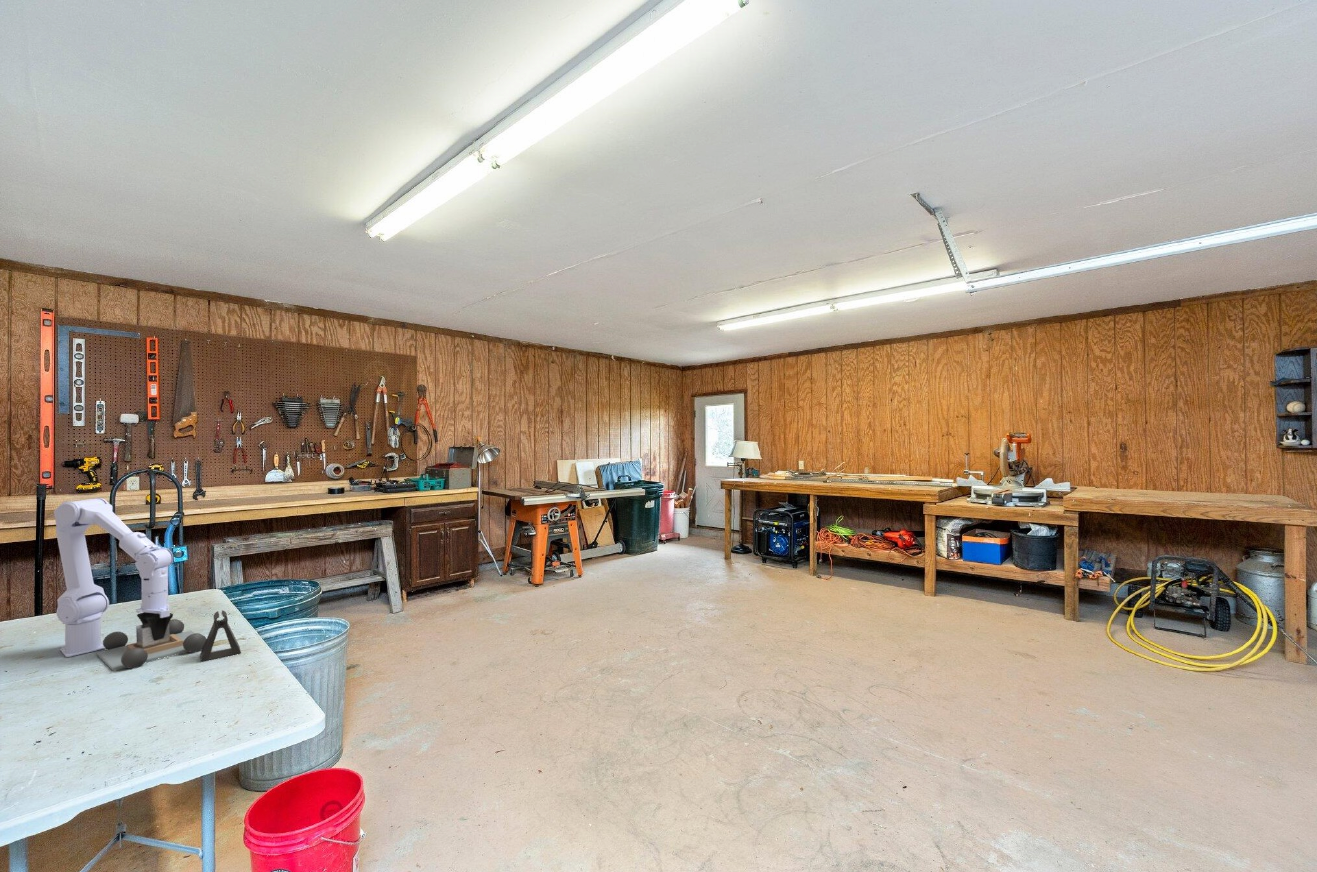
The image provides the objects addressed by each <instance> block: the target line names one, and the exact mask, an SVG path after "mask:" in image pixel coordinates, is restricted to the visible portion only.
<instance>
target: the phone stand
mask: <svg viewBox="0 0 1317 872" xmlns="http://www.w3.org/2000/svg"><path fill="white" fill-rule="evenodd" d="M221 614H222V617H223V619H220V620H219V618H220V612H219V610H218V611H216V612H215V613H214V614H213V623H212V626H211V628H210V631H209V633H208V635H207V637H206V642H205V644H204V646H203V649H202V650H200V651H201V652H200V653H199V655H200V657H199V659H200V662H201V663H204V662H208V661H209V660H210V661H213V660H218V658H219V659H221V658H222V659H223V658H228V656H229V657H233V655H234V656H237V654H238V655H241V654H242V650H241V647H240V646H241V645H239V642H238V640H237V639H236V637H235V634H234V633H233V630H232V628H231V627H230V625H229V622H228V621H229V620H228V614H227V612H226V611H225V610H221ZM220 629H223V630H224V632H225V635H226V639H227V640H228V644H229V646H230V648H225V649H221V650H216V651H212V650H213V647H214V645H215V640H216V637H217V634H218V631H219V630H220Z"/></svg>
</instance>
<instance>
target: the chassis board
mask: <svg viewBox="0 0 1317 872" xmlns="http://www.w3.org/2000/svg"><path fill="white" fill-rule="evenodd" d="M184 629H185V624H184V622H183V621H181V620H180V619H177V618H176V619H175V618H174V619H173V618H171V620H170V622H169V633H170V643H166V644H162V645H158V646H154V647H150V648H146V649H142V648H138V647H137V642H133V643H129V644H128V641H129V638H128V636H127V634H126V633H124V632H122V631H114V632H113V631H112V632H110V633H108V634H107V635H106V636H105V637H104V638H103V640H102V644H103V646H104V647H105V649H106V650H105V649H104V650H102V651H101V650H100V651H98V652H97V653H96V655H97V657H98V658H100V660H101V661H102V662H103V663H104V662H105V665H106V666H107V667H109V668H110V670H111V671H112V672H115V671H119V670H122V669H126V668H127V669H137V668H140V667H142V666H143V665H144V664H145V662H147V663H150V662H149V661H151V662H153V661H152V660H155V661H157V660H156V659H158V658H162V659H165V658H164V657H166V658H168V657H167V656H170V657H173V656H172V655H174V656H176V655H175V654H178V655H181V653H182V654H186V653H192V654H193V653H199V652H200V651H202V649H203V646H204V644H205V642H206V639H207V637H206V636H205V635H203V634H201V633H199V632H196V633H195V632H194V631H192V630H186V631H184ZM158 660H159V659H158Z"/></svg>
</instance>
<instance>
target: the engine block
mask: <svg viewBox="0 0 1317 872" xmlns="http://www.w3.org/2000/svg"><path fill="white" fill-rule="evenodd" d="M135 628H136V629H135V631H136V636H135V638H136V643H137V647H138V648H142V649H146V648H150V647H154V646H158V645H162V644H166V643H170V633H169V624H168V626H167V629H166V633H165V636H164V638H163V639H160V640H156V641H154V639H153V636H152V631H151V627H150V624H149V623H147V624H139V625H136V627H135Z"/></svg>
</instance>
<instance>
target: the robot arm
mask: <svg viewBox="0 0 1317 872" xmlns="http://www.w3.org/2000/svg"><path fill="white" fill-rule="evenodd" d="M53 515H54V520H55V525H56V527H55V533H56V538H57V543H58V544H57V545H58V549H59V555H60V560H61V565H62V571H63V575H64V581H65V587H66V590H65V591H64V592H63V593H62V594H61V595H60V596H59V597H58V598H57V599H56V600H57V608H56V617H57V619H58V620H59V621H60V622H62V624H63V625H64V627H65V628H64V642H65V643H64V647H61V648H59V649H60V651H61V653H62V654H63V655H64V656H65V657H66V658H70V657H75V656H78V655H79V656H80V655H83V654H87V653H91V652H96V651H101V650H105V649H106V648H105V647H104V646H103V642H102V617H103V616H104V613H105V612H106V611H107V610H108V608H109V606H110V600H109V597H107V595H106V594H105V591H104V588H103V587H102V586H99V585H97V584H95V583H94V578H93V574H92V568H91V567H92V566H91V562H90V556H89V550H88V547H87V546H88V545H87V541H86V540H87V539H86V535H85V532H86V531H87V530H88V529H89V528H90V527H91V526H93V525H98V526H99V527H100V528H102V529H103V530H105V531H106V532H107V533H109V534H110V535H112V536H113V538H116V539H118V541H119V543H118V546H119V548H120V549H122V551H124V552H125V553H126V554H128V555H129V556H130V557H131V558H132V559H133V560H135V561H136V562H134V566H135V567H136V569H137V571H138V573H139V577H140V579H141V603H140V608H137V609H136V610H135V612H136V613H137V614H136V616H137V618H138V619H139V620H140V622H141V625H143V624H147V623H149V624H150V627H151V631H152V636H153V639H154V641H156V640H160V639H163V638H164V636H165V633H166V629H167V626H168V624H169V622H170V620H172V619H173V616H174V613H172V612H171V610H170V609H169V608H170V604H169V567H170V565H172V564H173V561H174V555H173V552H172V551H171V549H169V548H168V547H167V548H166V547H161V546H160V545H159V546H158V545H157V544H155V543H154V542H153V541H152V540H150V539H149V538H148V537H147V534H145V533H144V532H139V531H136V532H135V531H132V530H131V528H129V526H127V525H126V524H125V523H124V522H123V521H122V520H121V518H120V517H119V516H118V515H116V513H115V512H113V505H112V504H111V503H109V502H108V501H107V499H104V498H102V497H95V498H90V499H82V500H75V501H74V500H72V501H71V500H70V501H69V500H68V501H64V502H62V503H60V504H59V505H58V506H57V508H56V509H54V511H53Z"/></svg>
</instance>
